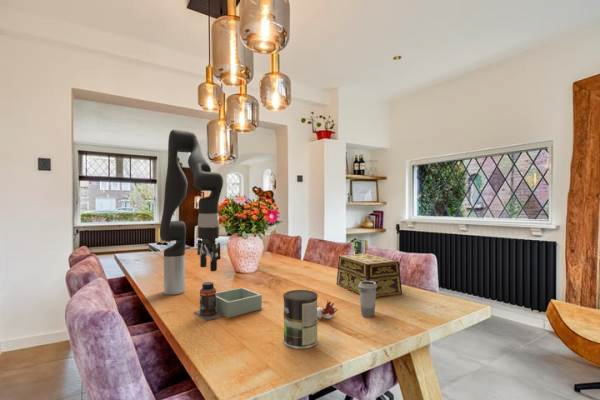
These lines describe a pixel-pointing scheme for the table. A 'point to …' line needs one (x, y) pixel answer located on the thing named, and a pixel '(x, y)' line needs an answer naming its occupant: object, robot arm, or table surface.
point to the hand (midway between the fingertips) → (208, 269)
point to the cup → (367, 298)
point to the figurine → (326, 311)
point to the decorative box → (369, 273)
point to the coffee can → (300, 319)
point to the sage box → (237, 302)
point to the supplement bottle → (207, 299)
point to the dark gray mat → (210, 317)
